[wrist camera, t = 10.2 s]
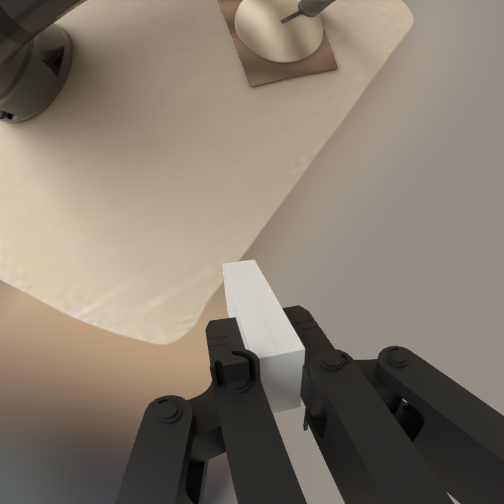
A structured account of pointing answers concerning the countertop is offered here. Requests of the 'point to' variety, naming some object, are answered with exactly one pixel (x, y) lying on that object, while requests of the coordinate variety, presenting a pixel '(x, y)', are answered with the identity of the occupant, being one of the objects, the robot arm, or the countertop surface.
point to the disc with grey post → (281, 28)
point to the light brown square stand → (268, 70)
